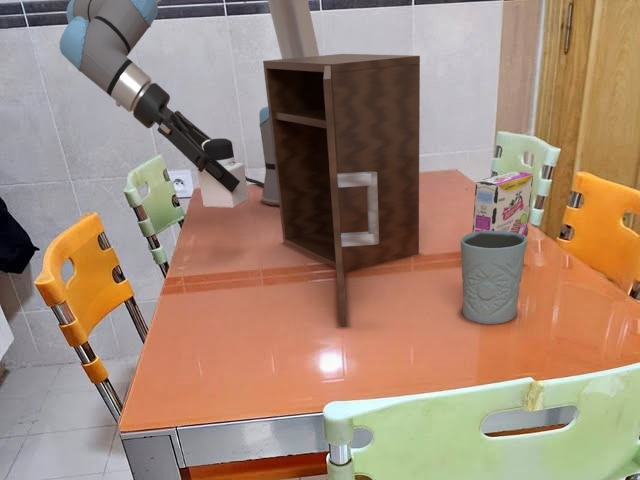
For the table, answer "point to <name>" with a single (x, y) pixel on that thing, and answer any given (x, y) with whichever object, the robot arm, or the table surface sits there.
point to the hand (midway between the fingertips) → (238, 181)
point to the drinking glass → (491, 275)
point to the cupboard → (347, 152)
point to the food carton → (503, 203)
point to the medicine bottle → (214, 190)
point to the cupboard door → (337, 182)
